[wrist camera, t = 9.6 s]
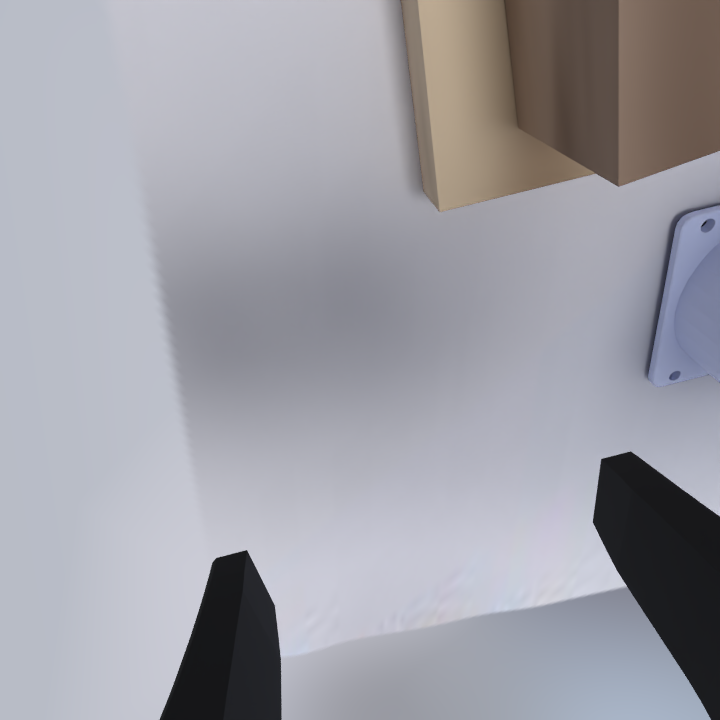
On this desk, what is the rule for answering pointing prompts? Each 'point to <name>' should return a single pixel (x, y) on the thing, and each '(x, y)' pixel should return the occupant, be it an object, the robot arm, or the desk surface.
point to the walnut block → (618, 81)
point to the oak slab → (471, 106)
